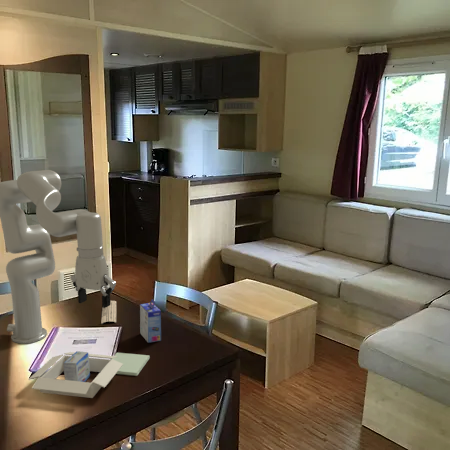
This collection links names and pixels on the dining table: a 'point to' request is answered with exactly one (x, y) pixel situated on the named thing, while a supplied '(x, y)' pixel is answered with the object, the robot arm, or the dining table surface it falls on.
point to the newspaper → (109, 313)
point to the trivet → (131, 363)
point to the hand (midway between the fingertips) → (94, 304)
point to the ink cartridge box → (150, 322)
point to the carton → (75, 388)
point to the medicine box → (77, 367)
